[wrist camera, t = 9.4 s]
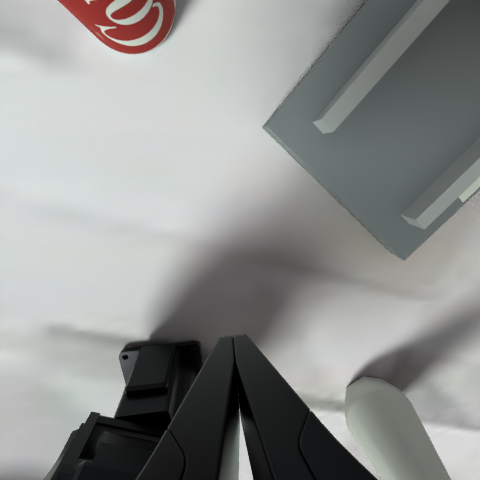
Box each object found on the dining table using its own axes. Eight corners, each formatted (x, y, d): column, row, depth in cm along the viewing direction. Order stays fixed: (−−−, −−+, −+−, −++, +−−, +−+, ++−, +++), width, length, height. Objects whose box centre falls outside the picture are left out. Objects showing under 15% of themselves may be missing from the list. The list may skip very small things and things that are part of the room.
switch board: (391, 253, 21) (418, 268, 19) (262, 127, 18) (271, 122, 15) (650, 4, 17) (735, -25, 15) (552, -226, 14) (640, -325, 11)
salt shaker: (346, 365, 25) (476, 579, 12) (402, 370, 25) (578, 577, 13) (328, 413, 26) (426, 644, 14) (381, 417, 27) (519, 639, 15)
